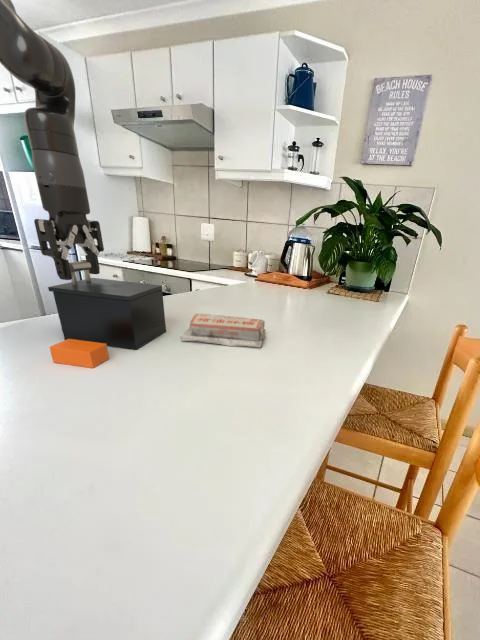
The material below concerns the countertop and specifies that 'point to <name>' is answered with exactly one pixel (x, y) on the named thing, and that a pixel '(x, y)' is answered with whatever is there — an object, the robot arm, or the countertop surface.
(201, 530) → the countertop surface
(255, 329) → the packaged product
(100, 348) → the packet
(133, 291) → the bin lid
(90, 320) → the bin
